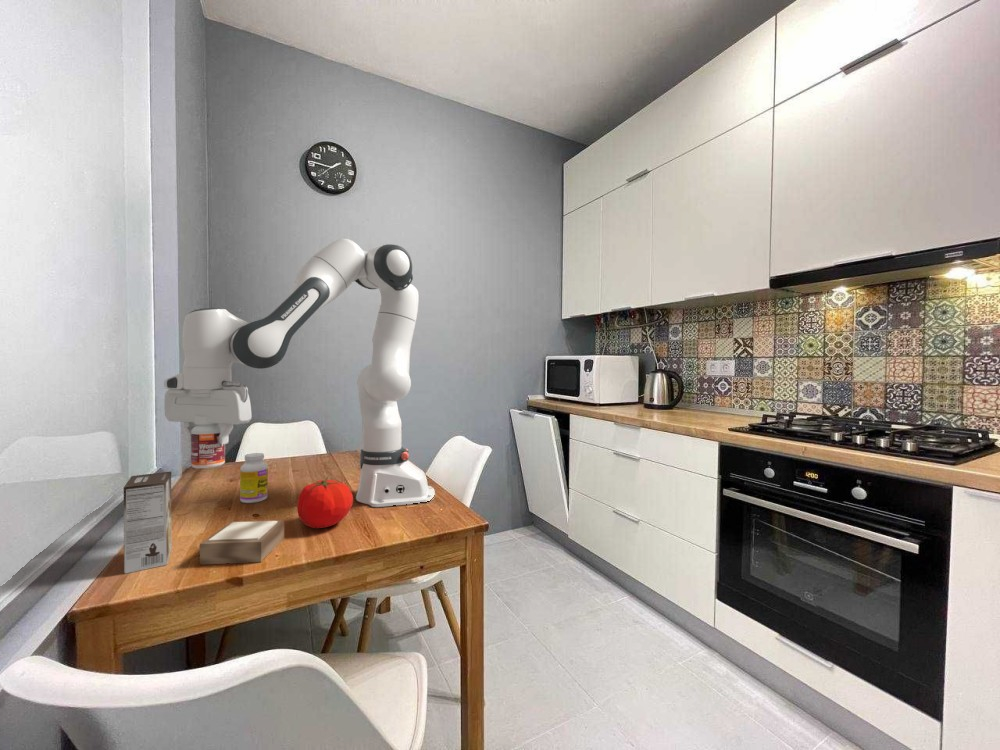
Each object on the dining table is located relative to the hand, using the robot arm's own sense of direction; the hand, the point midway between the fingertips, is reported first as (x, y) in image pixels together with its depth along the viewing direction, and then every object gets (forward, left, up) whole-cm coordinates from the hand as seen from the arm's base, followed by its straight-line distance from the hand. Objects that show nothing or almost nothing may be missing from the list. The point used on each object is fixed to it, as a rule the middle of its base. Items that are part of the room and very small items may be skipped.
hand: (208, 442), depth 91 cm
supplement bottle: (+1, -24, -21) cm, 32 cm away
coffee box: (+4, +12, -21) cm, 24 cm away
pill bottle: (0, 0, -5) cm, 5 cm away
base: (-12, +9, -21) cm, 25 cm away
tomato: (-24, -4, -21) cm, 32 cm away
